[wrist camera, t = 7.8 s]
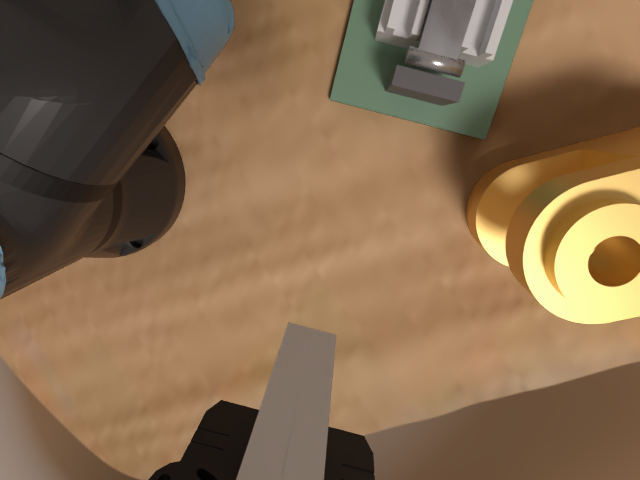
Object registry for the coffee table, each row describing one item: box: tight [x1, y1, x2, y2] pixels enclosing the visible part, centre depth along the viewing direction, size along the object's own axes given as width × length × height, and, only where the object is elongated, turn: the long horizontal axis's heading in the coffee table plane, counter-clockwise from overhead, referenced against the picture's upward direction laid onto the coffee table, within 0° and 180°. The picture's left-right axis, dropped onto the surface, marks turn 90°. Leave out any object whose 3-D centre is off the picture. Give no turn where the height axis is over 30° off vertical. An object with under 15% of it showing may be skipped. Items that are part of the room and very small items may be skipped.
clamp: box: [467, 127, 640, 324], centre depth 33 cm, size 20×9×16 cm, turn 106°
